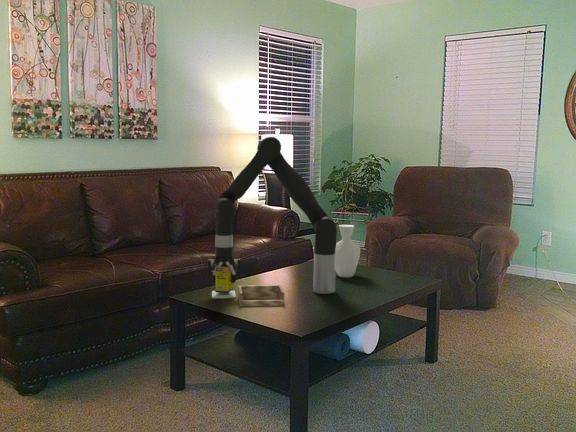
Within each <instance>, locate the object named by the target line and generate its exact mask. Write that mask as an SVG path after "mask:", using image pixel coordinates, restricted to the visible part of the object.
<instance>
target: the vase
mask: <svg viewBox="0 0 576 432" xmlns="http://www.w3.org/2000/svg"><path fill="white" fill-rule="evenodd" d="M338 227H339V231H340V232H339V233H340V235H341V240H339V241H338V242H336V249H335V272H336V275H337V276H338V277H340V278H352V277H354V275H355V273H356V270H357V267H358V264H359V261H360V256H361V247H360V246H359V245H358V244H356V242H354V241H352V240H351V238H352V235H353V232H354V229H355V225H353V224H339V225H338Z"/></svg>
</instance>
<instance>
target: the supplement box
mask: <svg viewBox="0 0 576 432" xmlns="http://www.w3.org/2000/svg"><path fill="white" fill-rule="evenodd" d="M233 266H234V265H233V264H232V265H231V267H233ZM215 267H216V266H215ZM233 268H234V267H233ZM215 291H216V292H219V293H229V292H230V291H233V284H232V272H231V271H230V267H216V284H215Z"/></svg>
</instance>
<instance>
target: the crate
mask: <svg viewBox="0 0 576 432" xmlns="http://www.w3.org/2000/svg"><path fill="white" fill-rule="evenodd" d="M237 288H238V289H237V290H238V295H237V296H238V303H239V307H262V306H263V305H264V306H265V307H266V306H267V307H268V306H285V303H286V302H285V301H286V300H285V293H286V292H285V291H284V288H283V286H282V285H281V284H275V285H274V284H272V285H271V284H269V285H268V284H267V285H264V284H263V285H238V287H237ZM257 297H258V298H260V297H266V298H278V299H263V300H262V299H261V298H260V299H261V300H259V299H258V300H257ZM247 298H248V300H246V299H247ZM253 298H254V299H253ZM243 299H245V300H243ZM249 299H251V300H249ZM252 299H253V300H252ZM255 299H256V300H255Z"/></svg>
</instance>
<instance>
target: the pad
mask: <svg viewBox="0 0 576 432" xmlns="http://www.w3.org/2000/svg"><path fill="white" fill-rule="evenodd" d="M236 298H237V295H236V290H231V291H230V292H229V293H219V292H216V290H211V299H213V300H214V299H236Z"/></svg>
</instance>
